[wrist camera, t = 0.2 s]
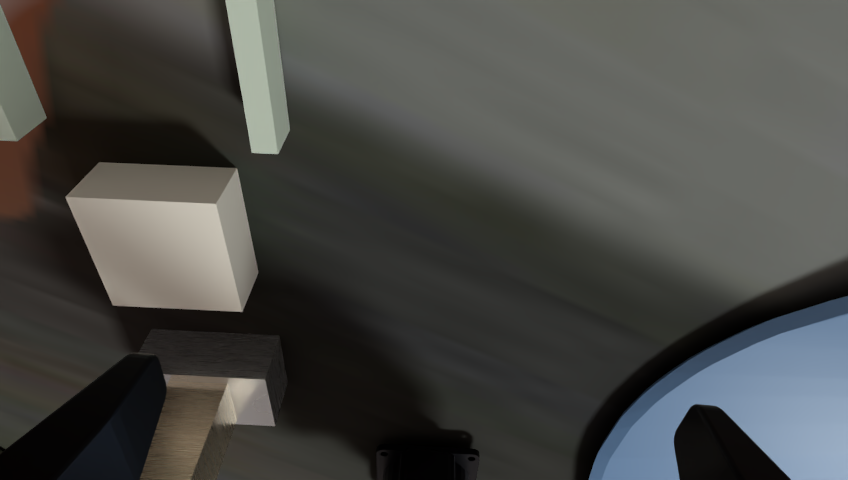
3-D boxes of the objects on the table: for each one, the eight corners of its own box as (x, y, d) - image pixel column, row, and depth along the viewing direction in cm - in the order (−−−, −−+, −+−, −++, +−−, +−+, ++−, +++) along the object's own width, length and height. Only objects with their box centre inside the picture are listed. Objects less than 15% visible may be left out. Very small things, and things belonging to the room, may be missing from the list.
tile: (260, 269, 28) (242, 311, 26) (141, 263, 28) (113, 305, 26) (239, 164, 25) (216, 203, 22) (102, 158, 25) (65, 196, 22)
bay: (290, 129, 23) (278, 154, 21) (22, 116, 23) (-9, 140, 22) (257, -134, 18) (238, -127, 16) (-94, -149, 18) (-148, -145, 16)
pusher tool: (287, 381, 33) (237, 561, 25) (169, 375, 33) (82, 553, 25) (279, 335, 31) (219, 519, 23) (152, 328, 31) (49, 509, 23)
